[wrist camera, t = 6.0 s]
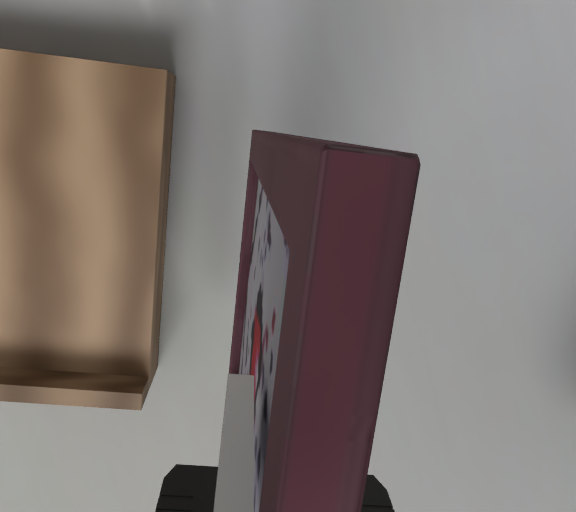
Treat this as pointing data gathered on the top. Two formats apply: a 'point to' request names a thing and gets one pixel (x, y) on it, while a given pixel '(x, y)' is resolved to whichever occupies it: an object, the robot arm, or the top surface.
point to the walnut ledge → (82, 228)
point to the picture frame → (318, 311)
